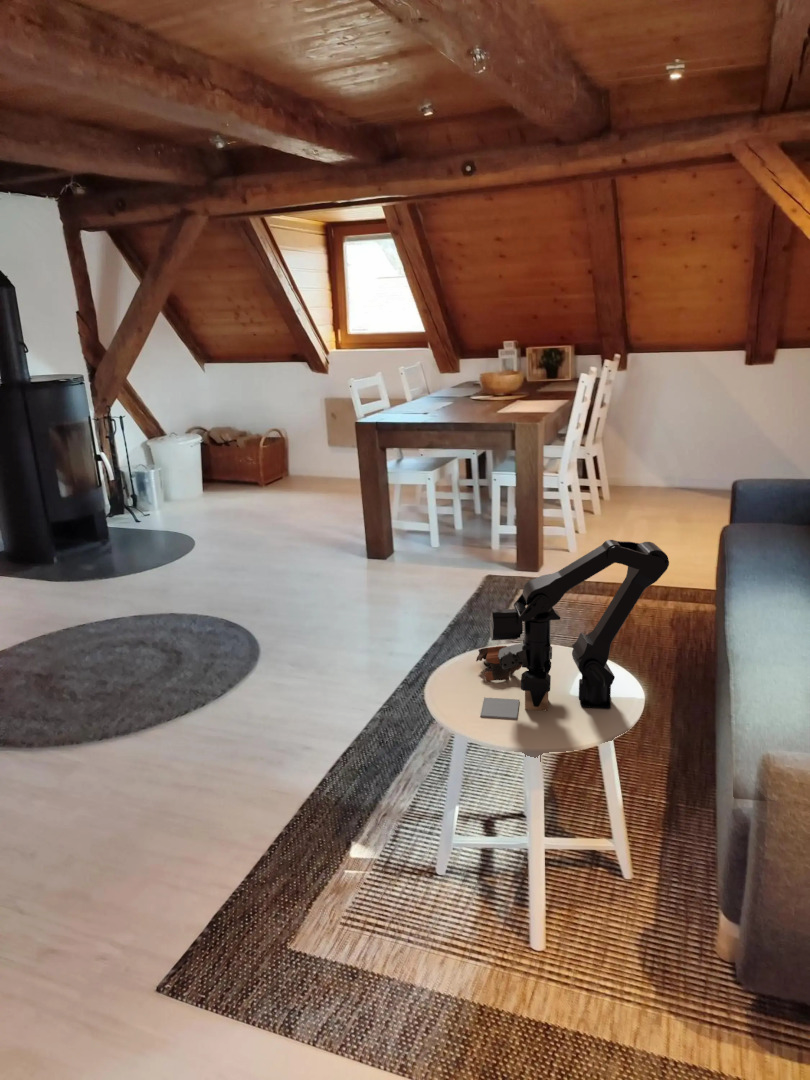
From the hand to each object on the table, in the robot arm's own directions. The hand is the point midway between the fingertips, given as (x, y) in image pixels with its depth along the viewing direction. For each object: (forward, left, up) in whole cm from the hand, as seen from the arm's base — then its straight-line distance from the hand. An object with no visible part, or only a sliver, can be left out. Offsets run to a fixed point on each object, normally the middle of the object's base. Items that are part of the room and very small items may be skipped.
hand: (536, 700), depth 175 cm
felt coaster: (+8, +3, -1) cm, 9 cm away
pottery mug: (+9, -14, -1) cm, 17 cm away
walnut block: (0, 0, -1) cm, 1 cm away
